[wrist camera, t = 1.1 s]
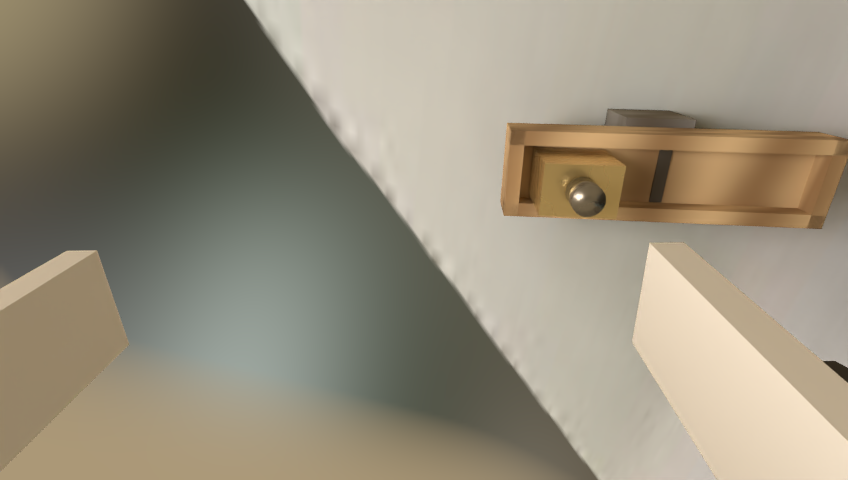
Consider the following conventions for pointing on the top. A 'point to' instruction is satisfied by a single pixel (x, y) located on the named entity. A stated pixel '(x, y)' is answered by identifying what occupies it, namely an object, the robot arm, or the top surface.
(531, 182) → the rider
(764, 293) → the top surface
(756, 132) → the beam
